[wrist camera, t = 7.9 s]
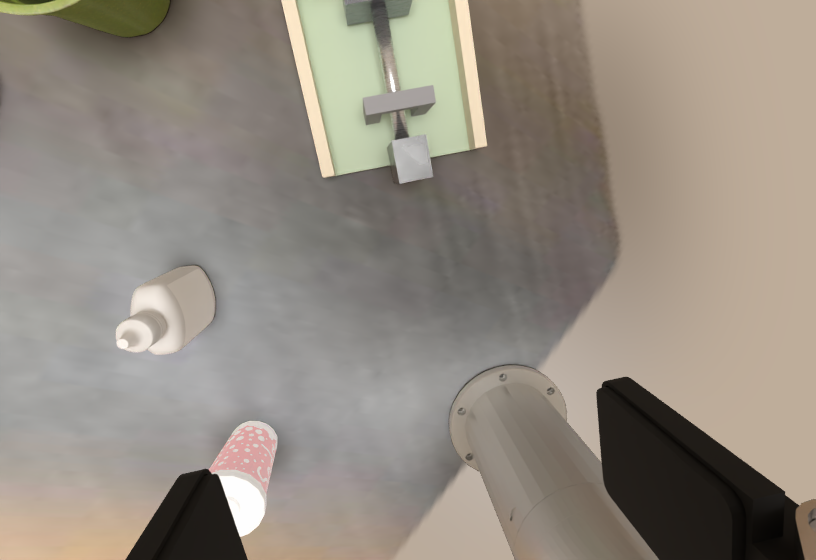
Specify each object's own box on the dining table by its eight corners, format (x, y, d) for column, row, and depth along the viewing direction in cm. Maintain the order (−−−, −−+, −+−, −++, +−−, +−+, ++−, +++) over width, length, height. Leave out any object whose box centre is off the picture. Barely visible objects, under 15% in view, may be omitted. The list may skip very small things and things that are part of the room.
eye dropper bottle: (228, 274, 38) (169, 315, 26) (211, 329, 39) (146, 391, 27) (180, 258, 37) (96, 292, 26) (163, 314, 38) (76, 371, 27)
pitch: (477, 148, 38) (506, 140, 30) (325, 177, 37) (315, 176, 29) (441, -112, 33) (464, -199, 25) (265, -84, 32) (235, -166, 25)
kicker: (435, 175, 36) (450, 173, 30) (379, 185, 36) (382, 186, 30) (404, -8, 33) (414, -52, 27) (342, 3, 33) (337, -40, 26)
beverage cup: (278, 471, 43) (239, 603, 30) (218, 461, 42) (149, 594, 29) (291, 419, 42) (255, 533, 28) (229, 408, 41) (162, 521, 28)
